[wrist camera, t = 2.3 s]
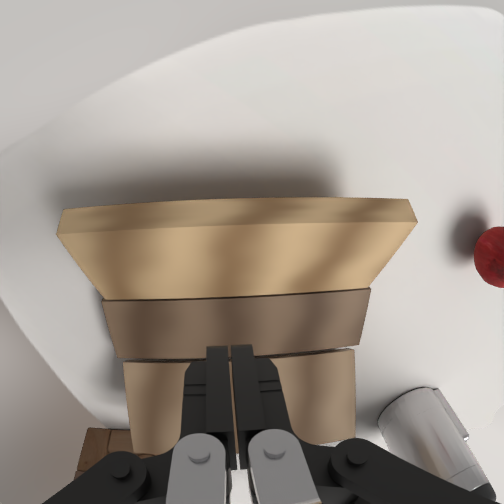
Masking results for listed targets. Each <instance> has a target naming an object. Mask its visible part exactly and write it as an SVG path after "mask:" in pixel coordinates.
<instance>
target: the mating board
mask: <svg viewBox="0 0 504 504" xmlns="http://www.w3.org/2000/svg"><path fill="white" fill-rule="evenodd" d="M370 292H371V288H370V287H368V288H357V289H345V290H332V291H319V292H304V293H289V294H272V295H253V296H232V297H207V298H176V299H119V300H105V299H104V298H103V299H102V301H101V302H102V306H103V310H104V314H105V317H106V321H107V325H108V328H109V332H110V335H111V338H112V342H113V345H114V348H115V352H116V355H117V358H140V359H189V358H206V347H207V346H222V345H228V356H229V357H231V345H240V344H252V346H253V353H254V356H258V355H272V354H284V353H295V352H305V351H314V350H323V349H331V348H339V347H347V346H354V345H359V342H360V338H361V334H362V330H363V325H364V321H365V317H366V312H367V307H368V302H369V298H370Z"/></svg>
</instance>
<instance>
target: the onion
mask: <svg viewBox="0 0 504 504" xmlns="http://www.w3.org/2000/svg"><path fill="white" fill-rule="evenodd" d="M474 262H475V266H476V270H477V271H478V273H479V274H480V276H481V277H482V278H483V280H484V281H485V282H487V283H488V284H490V285H493V286H496V287H499V288H504V227H493V228H491V229H489V230H487V231H485V232H484V233H483V234H482V235H481V236H480V237H479V239H478V241H477V243H476V245H475V250H474Z"/></svg>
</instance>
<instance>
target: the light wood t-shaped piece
mask: <svg viewBox="0 0 504 504" xmlns="http://www.w3.org/2000/svg"><path fill="white" fill-rule="evenodd" d="M116 451H127V452H131V453H133V454H136V455H137V456H139V457H140V458H141V459H143V458H147V457H152V456H156V455H160V454H150V453H136V452H134V449H133V443H132V437H131V430H110V429H102V428H88V430H87V433H86V436H85V440H84V443H83V447H82V451H81V455H80V459H79V463H78V466H77V471H76V473H75V477H74V480H75V479H76V478H78V477H79V476H80V475H81V474H83V473H84V472H85V471H87V470H88V469H89V468H91V467H92V466H93V465H94V464H96V463H97V462H98V461H100V460H101V459H102V458H103V457H105V456H106V455H108V454H110V453H112V452H116Z"/></svg>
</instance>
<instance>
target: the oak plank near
mask: <svg viewBox="0 0 504 504" xmlns="http://www.w3.org/2000/svg"><path fill="white" fill-rule="evenodd" d="M417 223H418V221H417V219H416V216H415V214H414V212H413V209H412V207H411V205H410V202H409V200H408V199H389V198H342V197H282V198H233V199H205V200H183V201H164V202H147V203H132V204H118V205H106V206H94V207H82V208H72V209H63V213H62V216H61V219H60V223H59V226H58V230H57V233H56V235H57V237H58V238H59V239H60V241H61V242H62V244H63V245H64V246H65V248H66V249H67V251H68V252H69V253H70V255H71V256H72V257H73V259H74V260H75V262H76V263H77V264H78V266H79V267H80V268H81V270H82V271H83V272H84V273H85V275H86V276H87V277H88V279H89V280H90V281H91V282H92V284H93V285H94V286H95V288H96V289H97V290H98V291H99V293H100V294H101V295H102V296H103V297H104V299H105V300H119V299H176V298H207V297H232V296H253V295H272V294H289V293H304V292H319V291H332V290H345V289H357V288H368V287H369V285H370V284H371V283H372V282H373V280H374V279H375V278H376V277H377V275H378V274H379V273H380V272H381V270H382V269H383V268H384V267H385V265H386V264H387V263H388V262H389V260H390V259H391V258H392V256H393V255H394V254H395V252H396V251H397V250H398V249H399V247H400V246H401V245H402V243H403V242H404V241H405V239H406V238H407V236H408V235H409V234H410V232H411V231H412V230H413V228H414V227H415V226H416V224H417Z"/></svg>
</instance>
